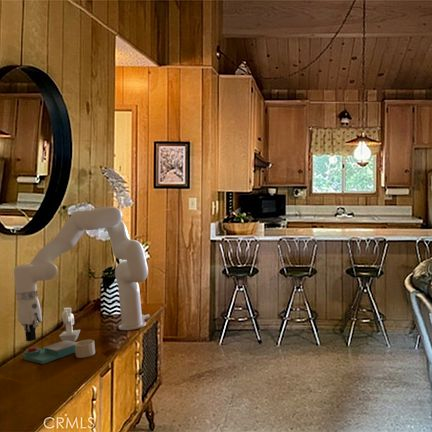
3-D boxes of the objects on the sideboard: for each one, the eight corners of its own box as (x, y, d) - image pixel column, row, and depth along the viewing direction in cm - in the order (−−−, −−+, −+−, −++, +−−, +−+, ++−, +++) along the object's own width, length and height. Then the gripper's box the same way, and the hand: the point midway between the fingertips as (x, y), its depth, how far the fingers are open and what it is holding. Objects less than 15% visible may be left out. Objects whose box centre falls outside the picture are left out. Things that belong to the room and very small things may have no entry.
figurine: (81, 336, 224) (78, 304, 223) (76, 343, 214) (72, 309, 213) (65, 338, 222) (61, 306, 221) (58, 345, 213) (55, 311, 212)
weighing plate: (66, 348, 208) (65, 339, 208) (80, 351, 203) (79, 342, 203) (43, 355, 200) (42, 347, 200) (57, 359, 195) (56, 350, 194)
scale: (59, 346, 211) (58, 339, 211) (79, 350, 203) (78, 343, 203) (22, 359, 198) (21, 351, 198) (42, 364, 190) (41, 356, 190)
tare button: (34, 349, 201) (34, 345, 201) (39, 350, 199) (38, 346, 199) (26, 352, 198) (26, 348, 198) (31, 353, 196) (30, 349, 196)
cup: (88, 350, 203) (86, 338, 202) (99, 352, 199) (97, 340, 198) (72, 356, 197) (70, 344, 196) (83, 358, 193) (81, 346, 192)
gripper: (46, 294, 196) (50, 339, 197) (26, 292, 204) (30, 335, 205) (27, 299, 190) (32, 345, 191) (7, 296, 198) (11, 340, 199)
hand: (31, 340), depth 198 cm, fingers closed
